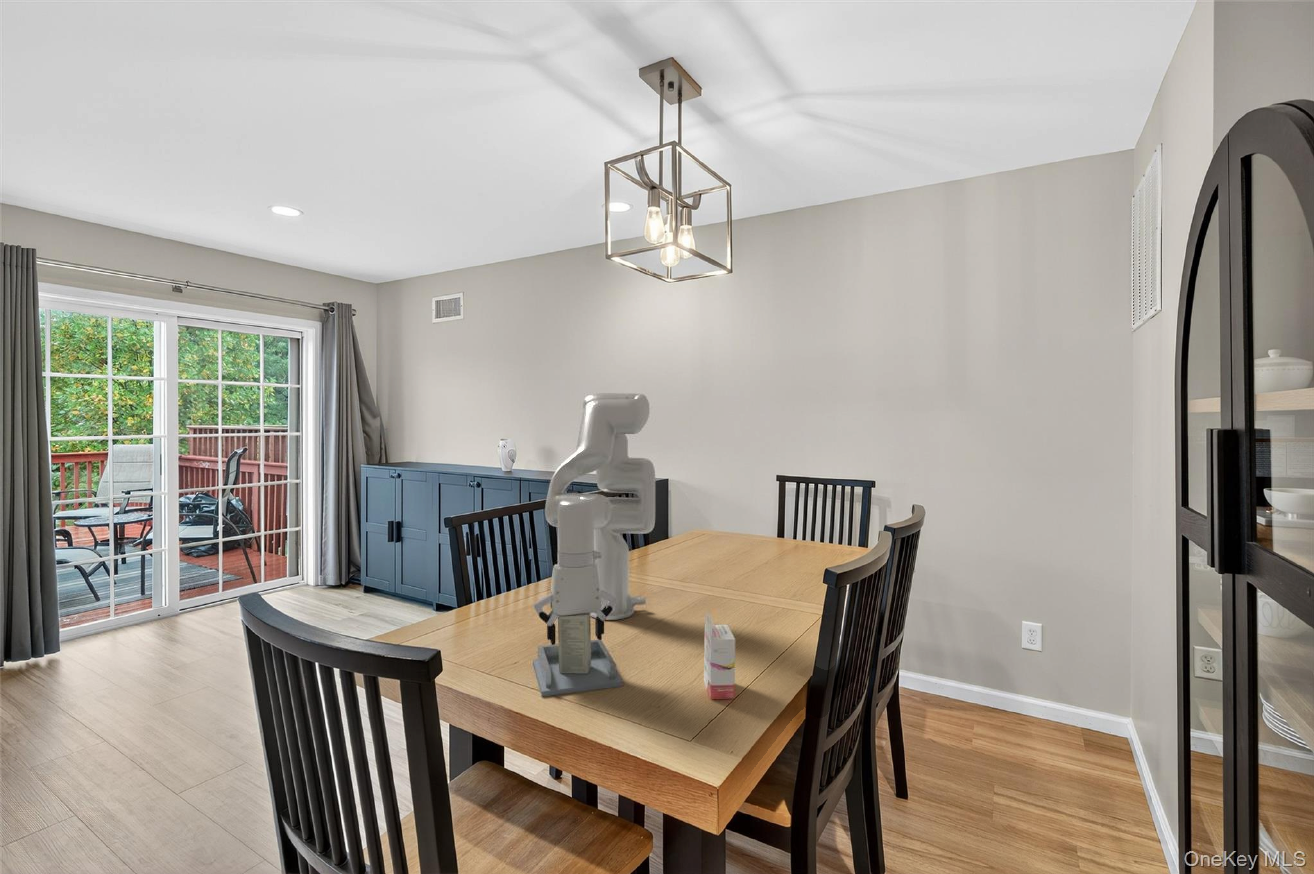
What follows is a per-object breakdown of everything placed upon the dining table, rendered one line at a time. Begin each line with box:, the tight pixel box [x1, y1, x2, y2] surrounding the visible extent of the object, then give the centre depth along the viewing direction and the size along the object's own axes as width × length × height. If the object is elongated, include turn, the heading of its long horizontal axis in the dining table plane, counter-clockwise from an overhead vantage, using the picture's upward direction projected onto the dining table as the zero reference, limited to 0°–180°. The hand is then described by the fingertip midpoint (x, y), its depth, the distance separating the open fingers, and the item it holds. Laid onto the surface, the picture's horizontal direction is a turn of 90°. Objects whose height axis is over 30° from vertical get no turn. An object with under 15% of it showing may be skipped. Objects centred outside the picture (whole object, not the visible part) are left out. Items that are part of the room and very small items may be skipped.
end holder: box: [532, 639, 623, 697], centre depth 128 cm, size 16×16×4 cm
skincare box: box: [557, 613, 592, 674], centre depth 127 cm, size 6×4×12 cm
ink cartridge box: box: [703, 611, 736, 700], centre depth 121 cm, size 9×5×15 cm, turn 5°
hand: (575, 640), depth 127 cm, fingers open, 9 cm apart
